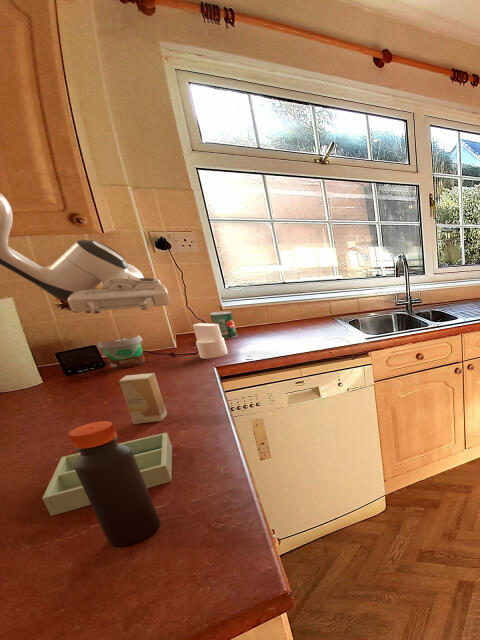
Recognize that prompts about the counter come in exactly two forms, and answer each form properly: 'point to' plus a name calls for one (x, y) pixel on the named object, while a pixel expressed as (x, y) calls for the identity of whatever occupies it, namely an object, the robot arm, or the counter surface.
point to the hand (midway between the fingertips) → (120, 308)
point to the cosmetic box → (143, 398)
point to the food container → (123, 352)
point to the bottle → (113, 484)
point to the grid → (150, 460)
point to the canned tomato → (224, 323)
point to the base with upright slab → (209, 341)
